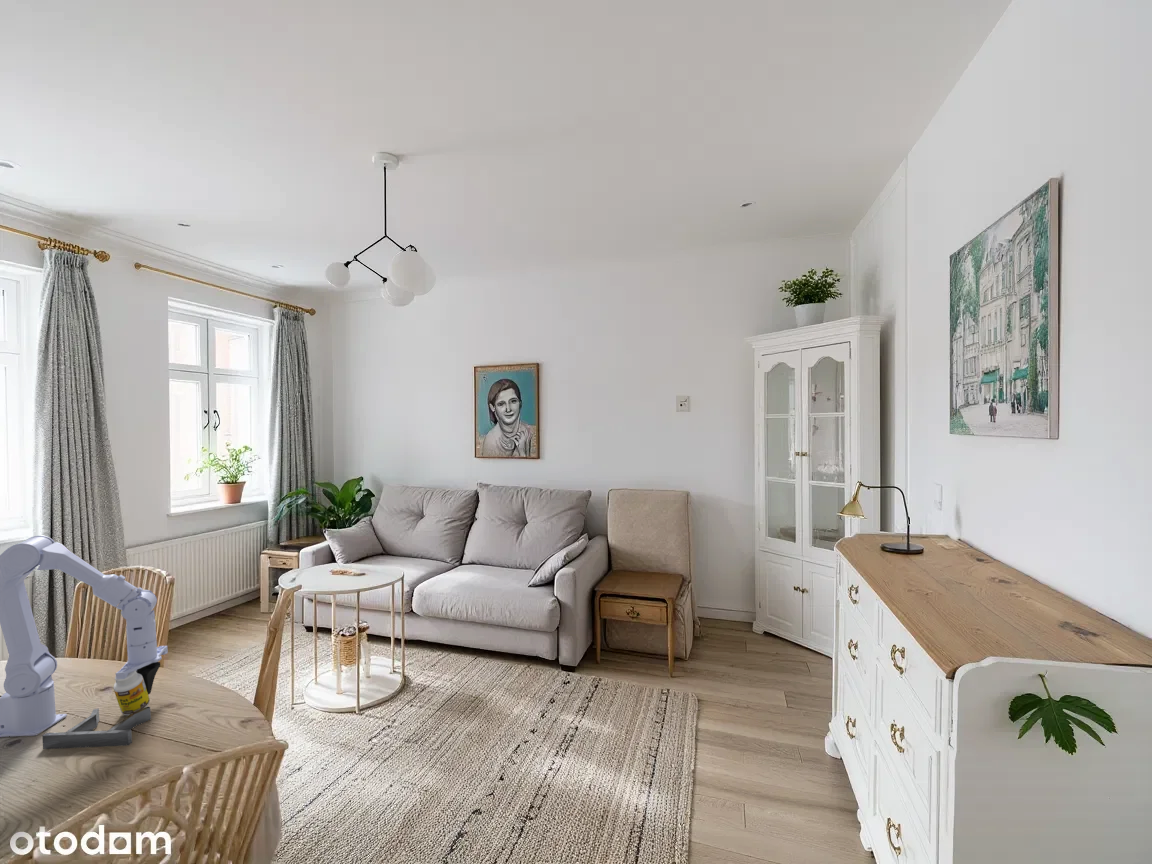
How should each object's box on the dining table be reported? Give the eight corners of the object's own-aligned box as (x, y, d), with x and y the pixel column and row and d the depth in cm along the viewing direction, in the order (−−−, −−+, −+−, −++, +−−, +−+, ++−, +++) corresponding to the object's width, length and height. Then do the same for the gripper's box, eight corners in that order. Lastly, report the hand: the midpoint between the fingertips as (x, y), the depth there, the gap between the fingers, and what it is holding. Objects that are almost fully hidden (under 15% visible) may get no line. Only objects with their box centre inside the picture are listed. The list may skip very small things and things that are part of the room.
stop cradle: (43, 749, 117) (42, 735, 117) (84, 721, 128) (84, 708, 128) (128, 745, 118) (127, 732, 118) (163, 717, 129) (162, 705, 128)
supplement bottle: (120, 720, 128) (108, 686, 125) (123, 704, 133) (111, 671, 129) (149, 710, 131) (139, 676, 128) (151, 695, 136) (140, 662, 132)
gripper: (136, 654, 127) (139, 710, 128) (178, 628, 142) (181, 679, 142) (105, 655, 127) (108, 711, 127) (150, 629, 141) (153, 680, 142)
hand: (144, 694), depth 135 cm, fingers closed
